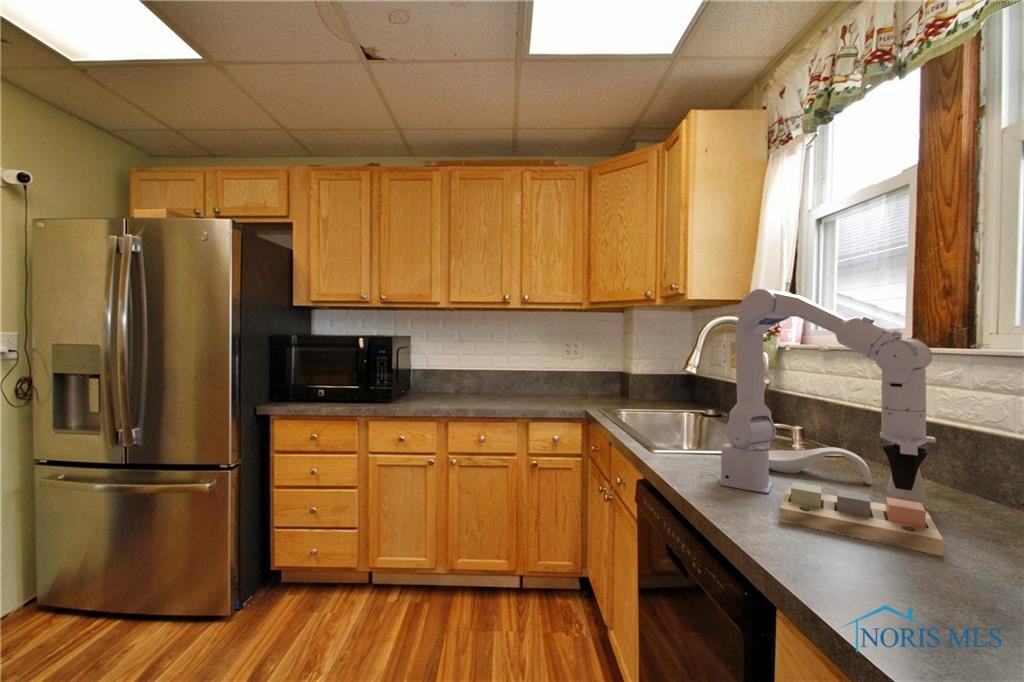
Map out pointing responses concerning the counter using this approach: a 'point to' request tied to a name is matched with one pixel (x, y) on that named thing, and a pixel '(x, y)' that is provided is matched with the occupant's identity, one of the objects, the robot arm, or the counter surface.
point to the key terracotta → (905, 512)
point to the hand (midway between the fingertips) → (903, 488)
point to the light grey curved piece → (811, 460)
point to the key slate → (853, 503)
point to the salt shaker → (914, 495)
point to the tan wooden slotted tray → (862, 524)
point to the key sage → (806, 494)
